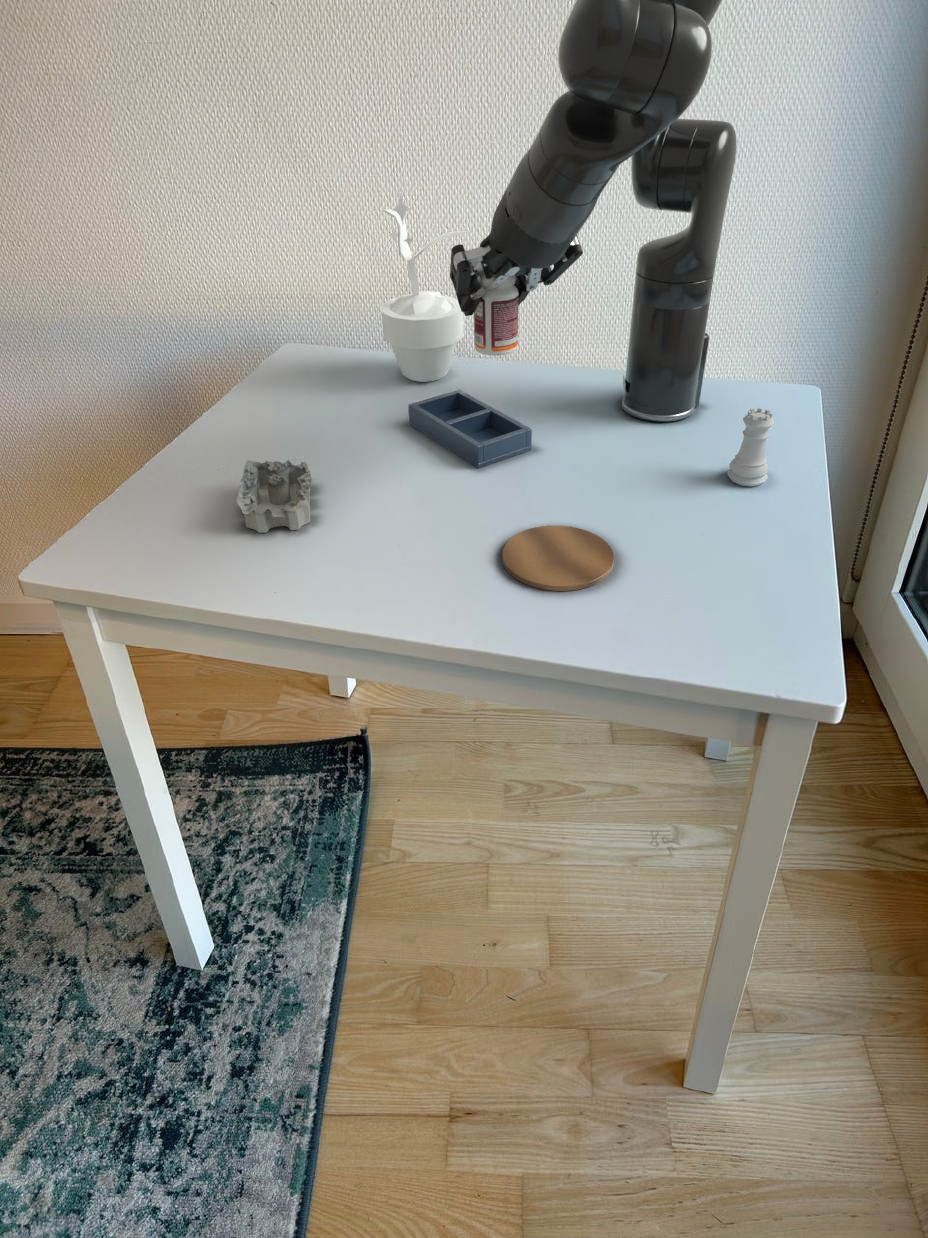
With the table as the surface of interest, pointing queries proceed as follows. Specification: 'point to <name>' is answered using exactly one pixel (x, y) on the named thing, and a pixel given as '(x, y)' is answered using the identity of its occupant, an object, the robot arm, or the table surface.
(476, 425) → the holder
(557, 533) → the disc
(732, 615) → the table surface
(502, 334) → the pill bottle
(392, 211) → the potted plant
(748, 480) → the rook chess piece
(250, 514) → the egg carton
